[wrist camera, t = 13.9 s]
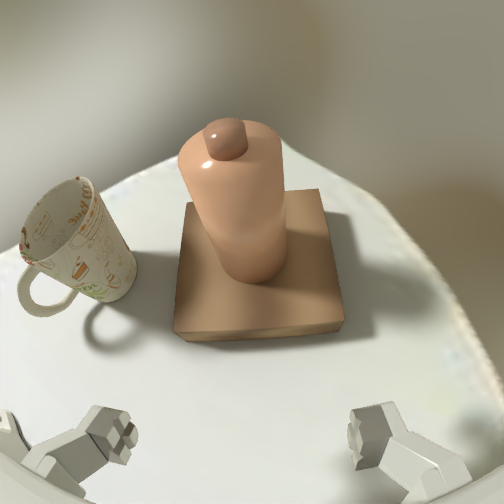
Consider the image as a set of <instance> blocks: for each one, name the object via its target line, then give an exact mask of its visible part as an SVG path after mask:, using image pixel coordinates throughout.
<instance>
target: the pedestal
mask: <svg viewBox="0 0 504 504" xmlns="http://www.w3.org/2000/svg"><path fill="white" fill-rule="evenodd" d="M285 208H286V227H287V251H288V254H287V260H286V262H285V265H284V266H283V268H282V269H281V271H280V272H279V273H278V274H277V275H275V276H274V277H273V278H271V279H269V280H267V281H264V282H261V283H256V284H248V283H242V282H239V281H236V280H234V279H233V278H231V277H230V276H229V275H228V274H227V273H226V272H225V271H224V269H223V267H222V265H221V263H220V261H219V259H218V256H217V254H216V252H215V250H214V248H213V245H212V243H211V241H210V239H209V237H208V234H207V232H206V230H205V228H204V225H203V223H202V221H201V219H200V216H199V214H198V212H197V210H196V207H195V205H194V203H193V202H188V203H187V205H186V211H185V218H184V226H183V233H182V241H181V249H180V258H179V267H178V277H177V287H176V298H175V310H174V324H173V332H174V333H175V334H177V335H178V336H180V337H181V338H182V339H184V340H185V341H187V342H194V341H232V340H252V339H268V338H281V337H293V336H303V335H313V334H322V333H331V332H338V331H339V329H340V327H341V326H342V324H343V322H344V321H345V319H344V312H343V306H342V300H341V294H340V288H339V282H338V277H337V271H336V266H335V261H334V256H333V251H332V246H331V241H330V236H329V232H328V227H327V223H326V218H325V214H324V209H323V205H322V201H321V197H320V193H319V189H307V190H294V191H285Z"/></svg>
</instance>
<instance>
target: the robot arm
mask: <svg viewBox="0 0 504 504" xmlns="http://www.w3.org/2000/svg"><path fill="white" fill-rule="evenodd" d="M130 419H131V417H130V415H129V414H128V412H126V411H121V410H116V409H112V408H107V407H102V406H98V405H94V406H92V407H91V409H90V410H89V411H88V413H87V414H86V415H85V417H84V418H83V420H82V421H81V422H80V424H79V425H78V426H77V428H76V429H71V430H69V431H66V432H64V433H62V434H60V435H58V436H56V437H54V438H51V439H49V440H47V441H45V442H42V443H40V444H38V445H35V446H33V447H32V449H31V450H30V451H28V449H27V447H26V446H25V444H24V443H23V441H22V439H21V438H20V436H19V433H18V430H17V427H16V424H15V421H14V418H13V416H12V414H11V413H10V412H9V411H7V410H1V409H0V504H95V503H93V502H90V501H88V500H85V499H83V498H84V496H85V494H86V491H85V490H84V489H83V488H82V487H81V486H80V485H79V483H80V482H82V481H83V480H85V479H86V478H87V477H89V476H90V475H92V474H93V473H95V472H96V471H97V470H99V469H100V468H101V467H103V466H104V465H106V464H107V463H108V461H109V462H113V463H117V464H121V465H126V464H127V462H128V460H129V458H130V456H131V451H130V449H132V448H133V447H135V446H136V444H137V441H138V431H137V428H136V426H135V425H134V424H133V423H131V422H130ZM350 421H351V423H349V424H348V430H347V437H348V444H349V448H351V449H352V450H353V453H352V461H353V465H354V469H355V471H357V470H362V469H367V468H372V467H377V466H378V467H379V468H380V469H381V470H382V471H383V472H385V473H386V474H387V475H388V476H389V477H391V478H392V479H393V480H394V481H396V482H397V483H398V484H399V485H401V486H402V487H403V488H404V489H406V490H407V491H408V492H409V493H408V494H407V496H406V497H405V499H404V500H403V501H402V503H401V504H504V464H502V465H501V466H499V467H498V468H496V469H494V470H493V471H491V472H489V473H488V474H486V475H484V476H483V477H481V478H479V479H477V480H476V481H473V479H472V477H471V475H470V473H469V471H468V469H467V467H466V465H465V464H464V462H463V460H462V458H461V456H460V455H458V454H455V453H453V452H451V451H449V450H447V449H445V448H443V447H441V446H440V445H438V444H436V443H434V442H432V441H430V440H428V439H426V438H424V437H422V436H420V435H419V434H417V433H415V432H413V431H410V432H408V430H407V428H406V426H405V424H404V422H403V420H402V418H401V416H400V413H399V411H398V409H397V407H396V405H395V403H394V402H393V401H390V402H385V403H381V404H376V405H372V406H367V407H362V408H357V409H352V410H351V412H350Z"/></svg>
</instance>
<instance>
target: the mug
mask: <svg viewBox="0 0 504 504" xmlns="http://www.w3.org/2000/svg"><path fill="white" fill-rule="evenodd" d="M19 249H20V254H21V256H22V258H23V259H24V261H25V262H27V263H28V264H29V265H28V266H27V268H26V269H25V271H24V272H23V274H22V275H21V277H20V279H19V281H18V284H17V294H18V298H19V301H20V303H21V305H22V307H23V308H24V309H25V310H26V311H27V312H28V313H30V314H31V315H33V316H36V317H49V316H52V315H55V314H57V313H59V312H61V311H63V310H65V309H66V308H67V307H68V306H69V305H70V304H71V303H72V301H73V300H74V299H75V297H76V296H77V294H78V293H79V292H81V293H83V294H85V295H87V296H89V297H91V298H93V299H95V300H98V301H100V302H106V303H107V302H113V301H116V300H118V299H120V298H121V297H123V296H124V295H125V294H126V293H127V292H128V291H129V289H130V288H131V286H132V285H133V283H134V280H135V278H136V273H137V264H136V260H135V258H134V256H133V254H132V252H131V251H130V249H129V247H128V246H127V244H126V242H125V240H124V239H123V237H122V235H121V233H120V232H119V230H118V228H117V226H116V224H115V223H114V221H113V219H112V217H111V215H110V214H109V212H108V210H107V208H106V206H105V204H104V202H103V200H102V198H101V196H100V194H99V192H98V191H97V189H96V188H95V185H94V184H93V183H92V182H91V181H90V180H89V179H88V178H85V177H73V178H70V179H67V180H65V181H63V182H61V183H59V184H57V185H56V186H54V187H53V188H52V189H50V190H49V191H48V192H47V193H46V194H45V195H44V196H43V197H42V198H41V199H40V200H39V201H38V202H37V204H36V205H35V206H34V208H33V209H32V211H31V212H30V214H29V215H28V217H27V219H26V221H25V223H24V226H23V228H22V231H21V235H20V242H19ZM40 271H41V272H43V273H44V274H46V275H48V276H50V277H52V278H54V279H55V280H57V281H59V282H61V283H63V284H65V285H67V286H69V287H71V288H73V289H72V290H71V291H70V292H69V293H68V295H67V296H66V297H65V298H64V299H63V300H62V301H61V302H59V303H57V304H55V305H51V306H41V305H38V304H36V303H35V302H34V301H33V300H32V298H31V296H30V285H31V283H32V281H33V280H34V278H35V277H36V276H37V275H38V273H39V272H40Z"/></svg>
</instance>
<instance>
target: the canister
mask: <svg viewBox="0 0 504 504" xmlns="http://www.w3.org/2000/svg"><path fill="white" fill-rule="evenodd" d="M178 167H179V170H180V172H181V175H182V177H183V179H184V182H185V184H186V186H187V189H188V191H189V193H190V196H191V198H192V200H193V203H194V205H195V207H196V210H197V212H198V214H199V216H200V219H201V221H202V223H203V225H204V228H205V230H206V232H207V234H208V237H209V239H210V241H211V243H212V245H213V248H214V250H215V252H216V254H217V256H218V259H219V261H220V263H221V265H222V267H223V269H224V271H225V272H226V273H227V274H228V275H229V276H230V277H231V278H233V279H234V280H236V281H239V282H242V283H248V284H256V283H261V282H264V281H267V280H269V279H271V278H273V277H274V276H275V275H277V274H278V273H279V272H280V271H281V269H282V268H283V266H284V265H285V262H286V260H287V254H288V251H287V227H286V208H285V190H284V174H283V159H282V145H281V140H280V137H279V135H278V134H277V133H276V132H275V131H274V130H273V129H272V128H270V127H269V126H267V125H265V124H262V123H259V122H254V121H247V120H240V119H237V118H222V119H219V120H216V121H213V122H212V123H210V124H208V125H207V126H206V127H205V128H204V129H203V130H201V131H200V132H198V133H197V134H195V135H194V136H192V137H191V138H190V139H189V140H188V141H187V142H186V143H185V144H184V146H183V147H182V149H181V151H180V153H179V155H178Z"/></svg>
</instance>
